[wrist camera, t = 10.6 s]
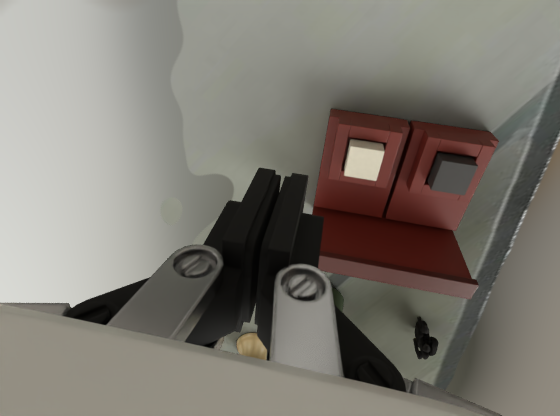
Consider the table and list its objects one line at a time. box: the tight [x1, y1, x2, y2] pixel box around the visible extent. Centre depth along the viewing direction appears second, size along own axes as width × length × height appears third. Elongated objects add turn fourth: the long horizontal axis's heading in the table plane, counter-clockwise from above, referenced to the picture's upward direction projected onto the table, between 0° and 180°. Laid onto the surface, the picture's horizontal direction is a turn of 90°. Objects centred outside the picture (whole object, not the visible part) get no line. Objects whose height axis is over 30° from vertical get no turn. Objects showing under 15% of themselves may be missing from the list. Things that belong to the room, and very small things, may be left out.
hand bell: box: [237, 333, 267, 360], centre depth 55 cm, size 8×8×16 cm
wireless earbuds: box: [413, 317, 438, 359], centre depth 49 cm, size 7×2×5 cm, turn 5°
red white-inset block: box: [314, 109, 410, 218], centre depth 37 cm, size 11×8×4 cm
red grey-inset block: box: [384, 121, 499, 231], centre depth 37 cm, size 11×8×4 cm
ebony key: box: [427, 152, 478, 195], centre depth 33 cm, size 3×3×2 cm
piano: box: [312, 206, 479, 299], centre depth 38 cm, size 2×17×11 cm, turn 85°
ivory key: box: [344, 139, 385, 181], centre depth 34 cm, size 3×3×2 cm
